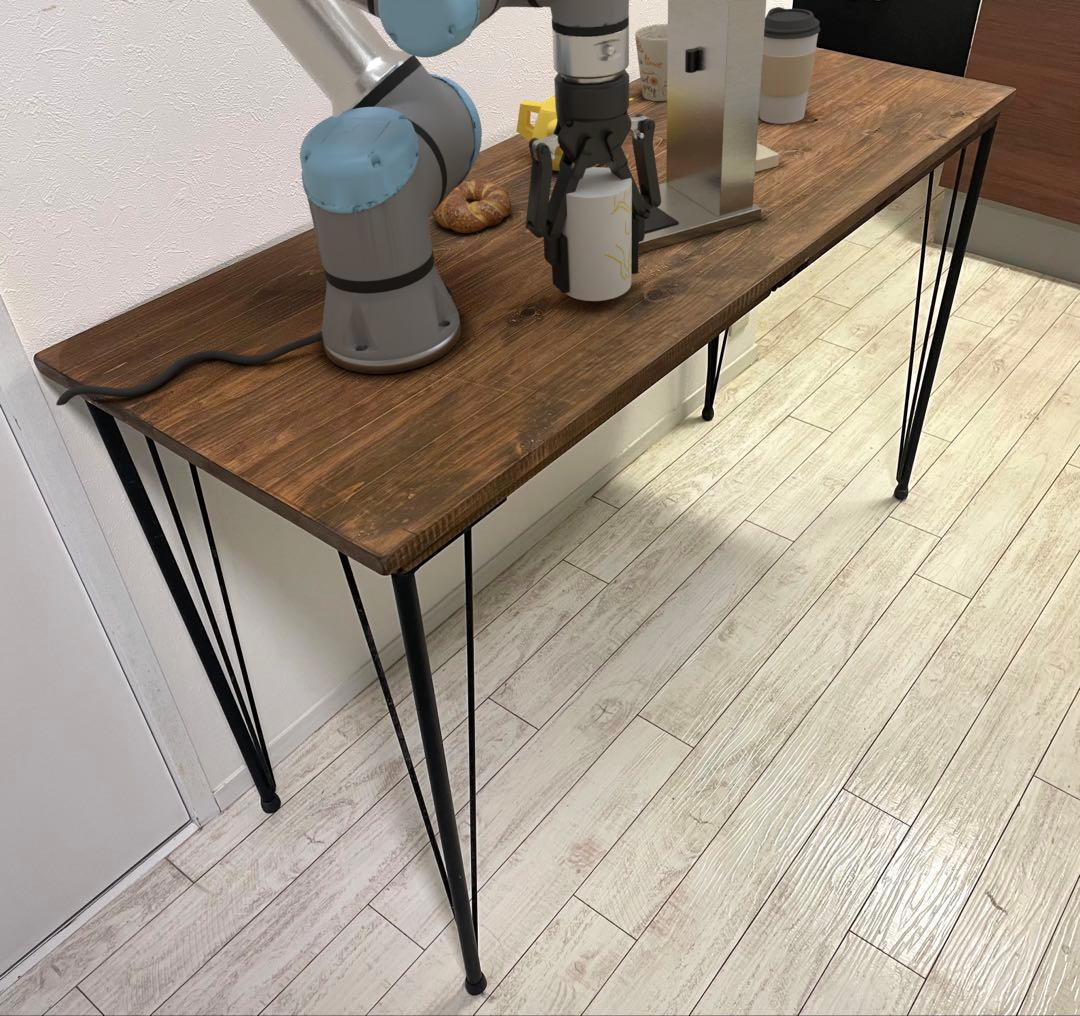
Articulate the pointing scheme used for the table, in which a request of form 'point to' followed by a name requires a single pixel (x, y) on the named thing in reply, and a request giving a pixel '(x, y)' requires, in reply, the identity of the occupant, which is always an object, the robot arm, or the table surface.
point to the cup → (599, 236)
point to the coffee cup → (787, 64)
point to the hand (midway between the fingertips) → (595, 278)
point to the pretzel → (473, 206)
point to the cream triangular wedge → (765, 158)
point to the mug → (653, 60)
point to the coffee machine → (709, 119)
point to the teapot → (540, 123)
